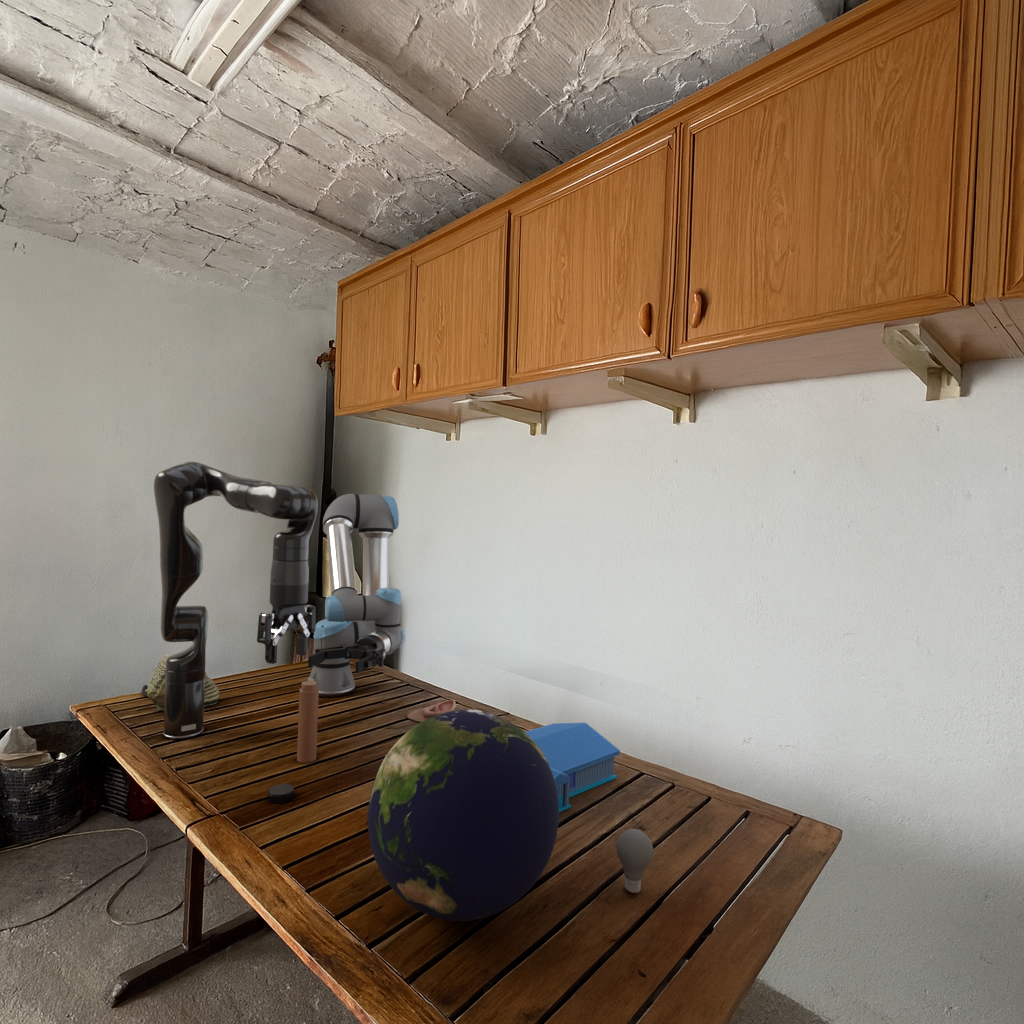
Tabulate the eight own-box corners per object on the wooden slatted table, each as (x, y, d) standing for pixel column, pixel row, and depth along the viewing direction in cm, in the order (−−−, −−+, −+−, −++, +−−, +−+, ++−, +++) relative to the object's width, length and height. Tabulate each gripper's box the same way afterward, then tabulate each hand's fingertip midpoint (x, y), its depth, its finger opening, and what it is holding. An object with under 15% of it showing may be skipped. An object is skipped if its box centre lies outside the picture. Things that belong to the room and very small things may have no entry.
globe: (322, 932, 92) (330, 728, 92) (425, 835, 120) (432, 678, 119) (512, 1001, 81) (522, 769, 81) (577, 877, 109) (585, 703, 108)
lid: (298, 798, 133) (298, 789, 133) (275, 805, 129) (276, 797, 129) (286, 790, 136) (286, 781, 136) (264, 797, 132) (264, 788, 132)
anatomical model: (403, 706, 181) (417, 694, 192) (402, 720, 181) (416, 707, 192) (447, 711, 178) (459, 699, 189) (447, 725, 178) (458, 712, 189)
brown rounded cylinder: (296, 763, 150) (299, 686, 149) (296, 756, 154) (299, 680, 153) (316, 761, 151) (319, 685, 151) (315, 754, 155) (318, 679, 155)
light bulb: (610, 879, 108) (613, 822, 108) (644, 879, 109) (647, 822, 109) (619, 902, 102) (622, 840, 102) (655, 901, 103) (658, 840, 103)
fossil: (144, 707, 182) (145, 655, 182) (212, 696, 194) (213, 647, 194) (151, 716, 175) (153, 662, 175) (221, 703, 188) (223, 653, 188)
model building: (501, 837, 120) (504, 785, 120) (427, 790, 139) (429, 744, 138) (628, 782, 147) (630, 739, 147) (552, 748, 165) (553, 710, 165)
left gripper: (278, 586, 124) (274, 669, 124) (326, 579, 137) (324, 654, 137) (249, 583, 127) (246, 663, 127) (299, 576, 140) (297, 649, 140)
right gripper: (411, 664, 180) (376, 684, 159) (333, 655, 186) (289, 673, 165) (412, 638, 179) (377, 655, 159) (334, 629, 186) (291, 645, 165)
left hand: (286, 658), depth 132 cm, fingers open, 8 cm apart
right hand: (332, 664), depth 162 cm, fingers open, 13 cm apart
